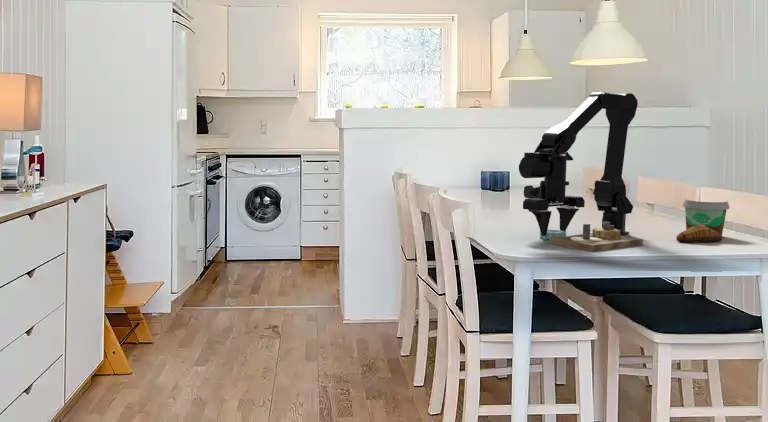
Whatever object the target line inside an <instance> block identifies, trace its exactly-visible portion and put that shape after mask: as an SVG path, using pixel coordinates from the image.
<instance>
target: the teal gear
mask: <svg viewBox="0 0 768 422" xmlns="http://www.w3.org/2000/svg"><path fill="white" fill-rule="evenodd" d="M563 236H567V231H563V230H560V229H556V228H555V229H550V228H548V229H547V233H546V236H542V234H541V231H540V230H539V239H541V238H543V239H542V240H545V239H546V240H547V239H549V238H554V237H563Z"/></svg>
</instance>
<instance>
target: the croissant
mask: <svg viewBox="0 0 768 422" xmlns="http://www.w3.org/2000/svg"><path fill="white" fill-rule="evenodd" d="M722 239H723V234H722V235H721V234H720V233H718V232H716V231H714V230H712V229H709V228H708V227H706V226H704V225H702V224H699V225H696V226H693V227H691V228H689V229H688V230H683V231H680V233H678V234H677V235H676V241H677V242H679V243H708V242H709V243H710V242H711V243H712V242H719V241H722Z"/></svg>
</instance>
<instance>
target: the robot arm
mask: <svg viewBox="0 0 768 422" xmlns="http://www.w3.org/2000/svg"><path fill="white" fill-rule="evenodd" d="M638 102H639V101H638V99H637V97H636V95H634V94H633V93H632V92H631V93H630V92H629V93H627V92H626V93H623V92H622V93H610V92H609V93H608V92H606V91H598V92H597V91H594V92H591V94H589V95H588V98H586V100H584V101H583V103H582V104H580V105H579V107H577V108H576V109H575V111H574V112H572V113H571V114H570V115H569V116H568V117H567V118H566V119H565V120H564V121H562V122H561V123H559V124H557V125H555V126H552V127H551V128H550V129H548V130H546V131H544V133H543V135H542V136H541V140H540V142H539V144H537V146H536V148H535V150H534V151H533V152H524V153H523V154H524V155H523V157H522V158H521V159H520V161H519V164H518V173H519V175H520V176H521V177H522V178H523V179H544V180H540V182H539V186H536V187H535V186H534V185H532V184H531V185H525V186H524V188H523V197H524V198H525V199H524V200H523V201H522V209H523V210H528V211H529V213H532V214H533V215H534V217H535V218H536V221H537V224H538V228H539V232H540V231H541V234H542V236H546V233H547V230H548V229H549V224H550V220H551V215H552V211H551V210H549V208H551V207H553V208H554V207H555V208H556V210H557V212H558V214H559V230H563V231H566V230H567V229H568V227H569V225H570V223H571V222H572V219H573V218H574V216H575V215H576V213H578V211H580V209H579V208H585V205H586V204H585V203H586V201H585V199H584V198H583V196H577V195H576V196H575V195H566V189H567V188H566V187H567V186H570V181H567V165H568V164H567V163H568V162H567V161H569V162H570V161H573V160H574V158H573V156H571V154H570V153H569V152H568V151H569V150H570V149H571V148H572V147H573V145H574V144H575V142H576V140H577V135H578V134H579V133H580V131H581V130H582V129H583V128H584V127H585V126H587V124H588V123H589V122H590V121H592V119H593V118H594V117H596V115H598V114H599V112H600V111H602V110H605V116H606V118H607V119H606V120H607V121H608V123H609V128H608V137H607V145H606V152H605V160H604V161H605V162H604V169H603V175H602V176H601V177H600V180H599V179H597V180H595V181H594V189H593V192H592V194H593V195H594V197H593V200H594V202H595V203H596V207H597V211H599V212H602V217H601V228H603V222H610V225H614V229H617V230H621V232H620V236H623V235H628V234H629V235H630V231H626V220H627V219H626V218H627V217H626V216H627V214H632V212H633V209H634V205H633V204H632V202H631V201H630V199H629V198H628V197H627V186H626V184H625V181H624V179H623V170H624V168H623V167H624V160H625V153H626V145H627V137H628V129H629V125H630V124H631V122H632V121H633V119H634V118H635V116H636V113H637V109H638V104H639V103H638ZM566 232H567V231H566Z"/></svg>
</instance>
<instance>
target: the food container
mask: <svg viewBox="0 0 768 422" xmlns="http://www.w3.org/2000/svg"><path fill="white" fill-rule="evenodd" d="M682 207H683V208H684V213H685V229H686V230H688V229H689V228H691V227H693V226H696V225H699V224H702V225H704V226H706V227H708V228H709V229H712V230H714V231H716V232H718V233H720V234H721V235H722V236H723V232H724V228H725V227H724V226H725V221H726V216H727V210H730V204H729V201H728V200H727V201H698V200H697V201H696V200H688V199H684V201H683V203H682Z"/></svg>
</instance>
